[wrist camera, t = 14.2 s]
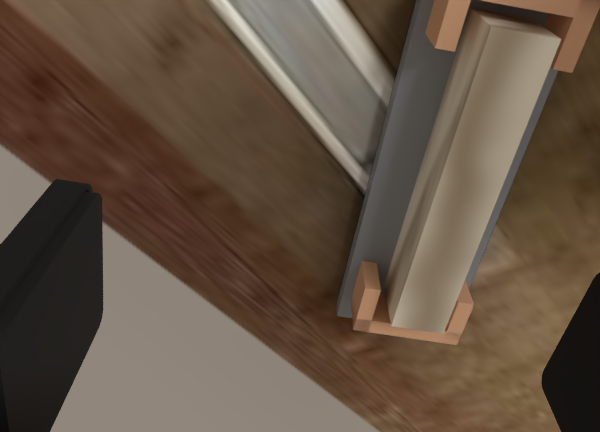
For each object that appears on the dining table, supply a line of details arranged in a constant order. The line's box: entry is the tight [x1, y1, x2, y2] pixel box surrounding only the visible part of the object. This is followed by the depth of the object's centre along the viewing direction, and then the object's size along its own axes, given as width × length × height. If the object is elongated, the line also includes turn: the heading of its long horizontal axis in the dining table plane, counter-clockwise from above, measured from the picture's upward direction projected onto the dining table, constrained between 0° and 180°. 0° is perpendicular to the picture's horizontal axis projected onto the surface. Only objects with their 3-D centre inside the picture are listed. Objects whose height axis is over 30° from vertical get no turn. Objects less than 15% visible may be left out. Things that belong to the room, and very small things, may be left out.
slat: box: [384, 8, 561, 334], centre depth 39 cm, size 4×22×5 cm, turn 170°
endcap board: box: [336, 0, 600, 345], centre depth 41 cm, size 10×30×5 cm, turn 170°
